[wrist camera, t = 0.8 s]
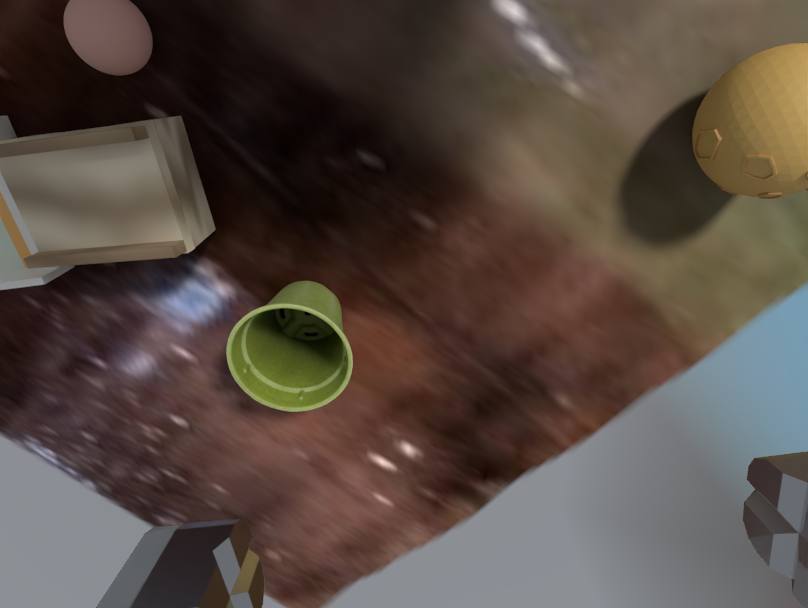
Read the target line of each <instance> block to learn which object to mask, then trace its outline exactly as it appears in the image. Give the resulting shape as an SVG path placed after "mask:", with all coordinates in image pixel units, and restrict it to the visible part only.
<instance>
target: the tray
mask: <svg viewBox="0 0 808 608" xmlns="http://www.w3.org/2000/svg"><path fill="white" fill-rule="evenodd" d="M14 138H17V136H16V134H15V131H14V129H13V127H12V125H11V123H10V120H9V118H8V116H7V115H6V116H0V141H1V140H8V139H14ZM38 252H39V251H38V249H37V247H36V245H35V243H34V241H33V239H32V237H31V235H30V233H29V231H28V228H27V226H26V224H25V222H24V220H23V218H22V216H21V214H20V212H19V210H18V208H17V206H16V203H15V201H14V199H13V197H12V195H11V193H10V191H9V189H8V187H7V185H6V183H5V181H4V178H3V176H2V174H1V172H0V290H5V289H13V288H21V287H29V286H37V285H44V284H46V283H48V282H50V281H52V280H53V279H55V278H57V277H58V276H60V275H62V274H63V273H65V272H67V271H68V270H70V269H72V268H73V267H75V265H70V266H57V267H44V268H30V269H28V267H27V265H26V263H25V261H24V259H23V258H26V257H28V256H31V255H33V254H35V253H38Z"/></svg>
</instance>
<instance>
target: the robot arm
mask: <svg viewBox="0 0 808 608" xmlns="http://www.w3.org/2000/svg"><path fill="white" fill-rule="evenodd" d="M747 480H748V481H749V482H750V484H751V485H752V486H753V487H754V488H755V491H754V492H753V493H752V494H751V495H750V496H749V497H748V498H747V500H746V501H745V502H744V513H743V521H744V524H745V528H746V531H747V534H748V538H749V539H750V541H751V543H752V544H753V546H754V548H755V550H756V552H757V553H758V554H759V555H760V557H761V558H762V559H763V560H764V561H765V563H766V564H767V565H768V566H769V567H770V568H772V569H774V570H775V571H777V572H779V573H781V574H783V575H785V576H787V577H788V578H790V579H791V581H792V594H793V595H794V597H795V598H796V599H797V600H798V601H799V602H800V604H802V606H803V607H804V608H808V452H800V453H792V454H784V455H776V456H768V457H760V458H754V459H753V461H752V462H751V464H750V465H749V468H748V476H747ZM252 538H253V535H252V533H251V530H250V527H249V524H248V522H247V521H246V520H243V519H230V520H219V521H208V522H197V523H186V524H183V525H172V526H160V527H154V528H152V529H151V530H149V531H148V532H146V533H145V534H144V536H143V537H142V539H141V540H140V542H139V543H138V545H137V547H136V548H135V550H134V551H133V553H132V554H131V556H130V557H129V559H128V560H127V562H126V563H125V565H124V566H123V568H122V570H121V571H120V572H119V574H118V575H117V577H116V578H115V580H114V582H113V583H112V584H111V586H110V587H109V589H108V591H107V592H106V594H105V595H104V597H103V598H102V600H101V601H100V603H99V604H98V606H97V607H96V608H262V605H263V597H264V586H265V582H264V572H263V567H262V564H261V560H260V557H259V556H257V555H256V554H255V553H253V552H252V551H251V550H249V549H248V548H249V546H250V543H251V540H252Z"/></svg>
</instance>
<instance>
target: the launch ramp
mask: <svg viewBox="0 0 808 608" xmlns="http://www.w3.org/2000/svg"><path fill="white" fill-rule="evenodd" d="M0 172H1V174H2V176H3V178H4V181H5V183H6V185H7V187H8V189H9V191H10V193H11V195H12V197H13V199H14V201H15V203H16V206H17V208H18V210H19V212H20V214H21V216H22V218H23V220H24V222H25V224H26V226H27V228H28V231H29V233H30V235H31V237H32V239H33V241H34V243H35V245H36V247H37V249H38V251H39V252H38V253H35V254H33V255H31V256H28V257H26V258H23V259H24V261H25V263H26V265H27V267H28V269H30V268H44V267H57V266H70V265H83V264H96V263H109V262H123V261H136V260H149V259H162V258H175V257H178V256H179V255H181V254H184V253H189V252H191V251H192V250H194V249H195V247H196V246H198V245H199V244H200V243H201V242H202V241H203V240H204V239H206V238H207V237H208V236H209V235H210V234H211V233H212V232H214V231H215V230H216V229H215V225H214V222H213V219H212V215H211V212H210V209H209V205H208V202H207V199H206V196H205V192H204V189H203V186H202V182H201V179H200V176H199V172H198V169H197V166H196V163H195V159H194V156H193V153H192V149H191V146H190V143H189V139H188V136H187V133H186V130H185V126H184V123H183V120H182V116H174V117H167V118H159V119H152V120H144V121H138V122H132V123H126V124H120V125H114V126H107V127H99V128H91V129H84V130H76V131H69V132H61V133H60V132H56V133H48V134H41V135H34V136H27V137H21V138H14V139H8V140H1V141H0Z"/></svg>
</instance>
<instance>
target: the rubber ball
mask: <svg viewBox="0 0 808 608" xmlns="http://www.w3.org/2000/svg"><path fill="white" fill-rule="evenodd" d="M64 29H65V33H66V36H67V38H68V41H69V43H70V44H71V46H72V48H73V49H74V51H75V52H76V53H77V54H78V56H79V57H80V58H81V59H82V60H83V61H85V62H86V63H87V64H89V65H90V66H92V67H93V68H95V69H97V70H99V71H101V72H104V73H107V74H111V75H128V74H132V73H135V72H137V71H138V70H140V69H141V68H142V67H144V65H145V64H146V63H147V62H148V60H149V58H150V56H151V53H152V47H153V39H152V33H151V30H150V27H149V24H148V22H147V20H146V19H145V17H144V16H143V14H142V13H141V11H140V10H139V9H138V8H137V7H136V6H135V5H134V4H133V3H132V2H131V1H129V0H70V1H69V3H68V5H67V6H66V9H65V12H64Z"/></svg>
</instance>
